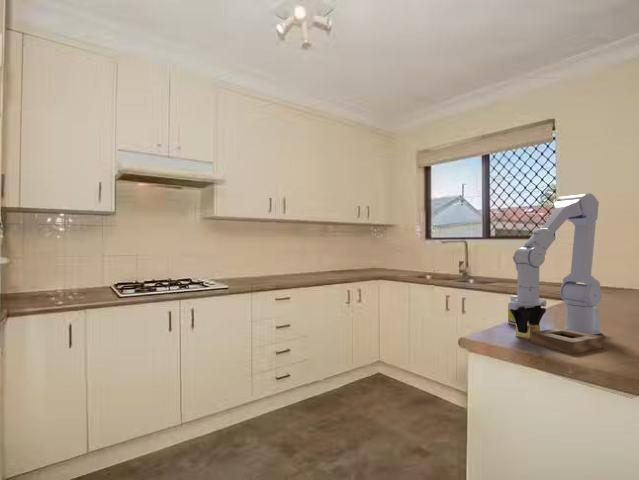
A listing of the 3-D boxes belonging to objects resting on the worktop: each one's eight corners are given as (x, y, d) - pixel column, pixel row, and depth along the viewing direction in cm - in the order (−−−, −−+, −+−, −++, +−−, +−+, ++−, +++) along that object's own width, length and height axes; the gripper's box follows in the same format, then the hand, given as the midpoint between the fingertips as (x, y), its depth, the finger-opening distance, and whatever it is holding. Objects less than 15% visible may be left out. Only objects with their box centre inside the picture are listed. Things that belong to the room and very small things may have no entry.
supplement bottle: (519, 322, 128) (519, 294, 128) (528, 325, 123) (529, 297, 123) (504, 322, 128) (505, 294, 128) (513, 325, 122) (513, 297, 122)
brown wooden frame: (561, 337, 108) (561, 327, 108) (603, 347, 98) (603, 336, 98) (531, 342, 102) (531, 332, 102) (572, 354, 92) (572, 342, 92)
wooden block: (525, 334, 111) (525, 321, 111) (539, 338, 107) (539, 324, 107) (515, 335, 109) (515, 322, 109) (529, 339, 105) (530, 326, 105)
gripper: (531, 284, 115) (530, 326, 115) (500, 286, 108) (499, 330, 108) (553, 286, 108) (552, 331, 108) (521, 289, 102) (521, 336, 102)
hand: (527, 331), depth 108 cm, fingers closed on wooden block, 4 cm apart
